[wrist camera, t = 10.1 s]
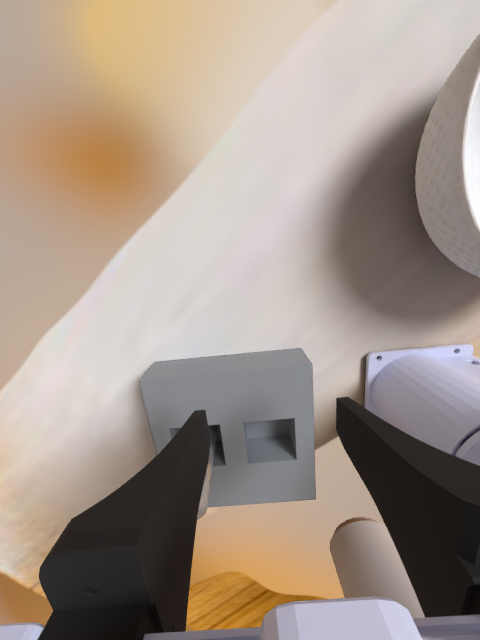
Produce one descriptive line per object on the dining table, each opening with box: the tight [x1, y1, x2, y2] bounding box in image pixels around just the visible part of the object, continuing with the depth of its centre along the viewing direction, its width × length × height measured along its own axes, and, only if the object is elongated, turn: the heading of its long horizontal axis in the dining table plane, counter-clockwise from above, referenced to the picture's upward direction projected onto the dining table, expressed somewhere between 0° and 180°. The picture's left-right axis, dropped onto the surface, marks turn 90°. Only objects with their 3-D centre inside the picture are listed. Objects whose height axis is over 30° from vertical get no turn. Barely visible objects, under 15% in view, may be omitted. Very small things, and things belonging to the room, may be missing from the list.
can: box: [330, 517, 425, 618], centre depth 22 cm, size 8×8×12 cm
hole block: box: [139, 348, 316, 507], centre depth 22 cm, size 14×14×4 cm
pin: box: [197, 425, 218, 520], centre depth 19 cm, size 3×3×8 cm
